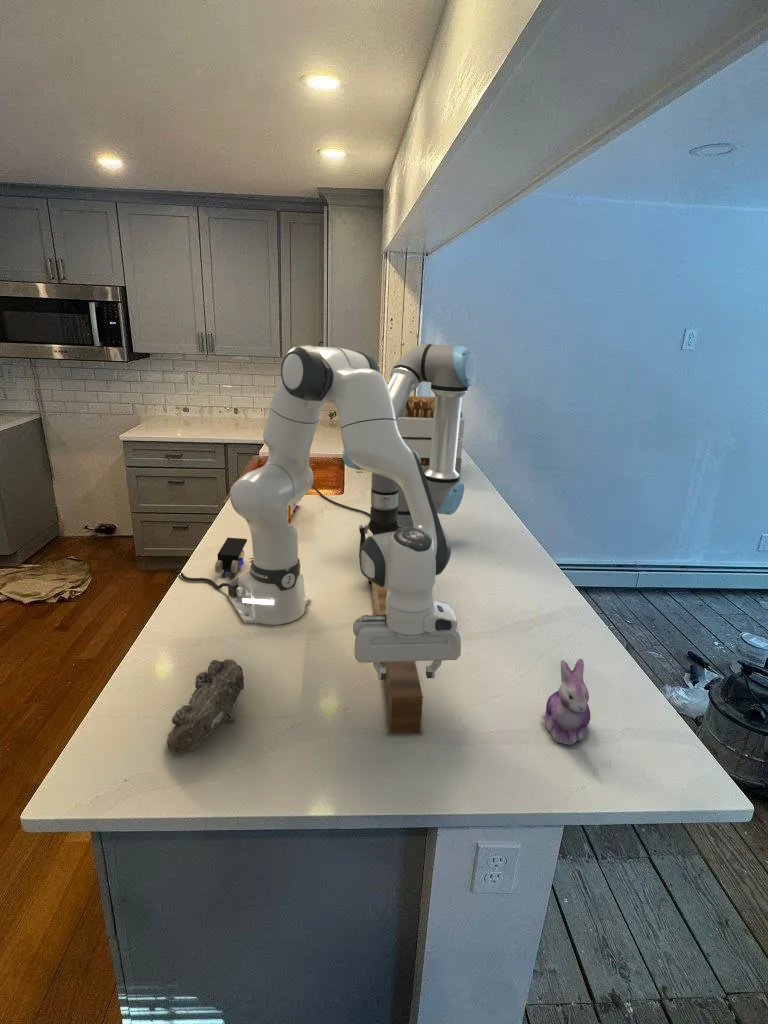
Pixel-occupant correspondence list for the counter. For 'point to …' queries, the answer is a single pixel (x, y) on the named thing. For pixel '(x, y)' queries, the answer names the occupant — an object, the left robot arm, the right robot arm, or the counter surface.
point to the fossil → (206, 705)
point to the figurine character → (230, 556)
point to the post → (400, 683)
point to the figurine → (569, 706)
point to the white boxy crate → (423, 428)
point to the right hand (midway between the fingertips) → (380, 582)
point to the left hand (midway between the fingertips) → (406, 677)
